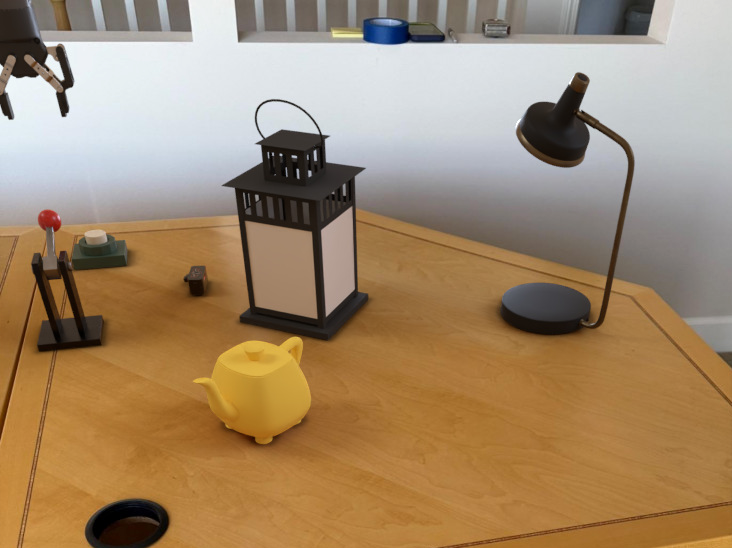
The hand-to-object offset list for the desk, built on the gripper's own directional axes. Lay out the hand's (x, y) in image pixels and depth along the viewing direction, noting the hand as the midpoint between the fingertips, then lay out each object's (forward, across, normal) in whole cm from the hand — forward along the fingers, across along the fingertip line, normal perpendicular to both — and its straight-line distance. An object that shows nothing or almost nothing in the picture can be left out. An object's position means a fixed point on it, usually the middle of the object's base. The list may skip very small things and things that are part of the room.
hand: (38, 117), depth 131 cm
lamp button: (+24, -3, -7) cm, 26 cm away
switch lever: (+15, 0, +19) cm, 25 cm away
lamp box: (+28, -3, -7) cm, 29 cm away
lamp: (+28, -84, +35) cm, 95 cm away
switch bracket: (+28, 0, +25) cm, 37 cm away
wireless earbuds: (+28, -22, +10) cm, 37 cm away
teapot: (+28, -29, +58) cm, 71 cm away
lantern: (+28, -41, +23) cm, 55 cm away
